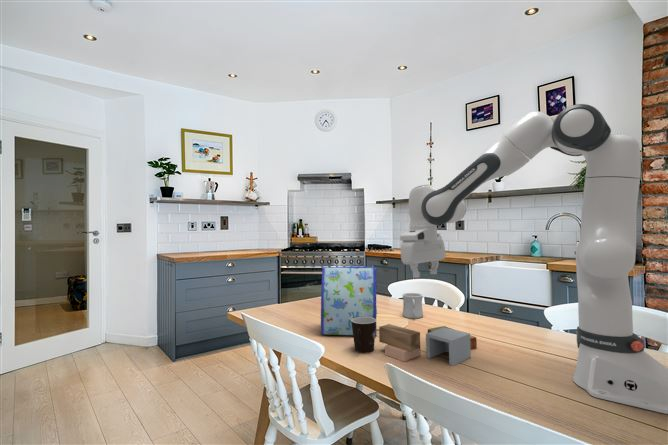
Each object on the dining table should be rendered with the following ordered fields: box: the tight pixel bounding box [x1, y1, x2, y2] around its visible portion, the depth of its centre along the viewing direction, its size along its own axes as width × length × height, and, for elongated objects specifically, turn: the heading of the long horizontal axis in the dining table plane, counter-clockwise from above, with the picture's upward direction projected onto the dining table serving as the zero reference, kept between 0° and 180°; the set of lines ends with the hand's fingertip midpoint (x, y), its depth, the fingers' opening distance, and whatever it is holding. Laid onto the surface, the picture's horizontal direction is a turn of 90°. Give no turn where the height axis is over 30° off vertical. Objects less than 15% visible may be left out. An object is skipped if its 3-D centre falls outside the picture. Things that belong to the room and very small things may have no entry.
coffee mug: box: [351, 317, 377, 354], centre depth 120 cm, size 12×9×10 cm
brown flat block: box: [427, 325, 478, 351], centre depth 126 cm, size 8×16×4 cm, turn 23°
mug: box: [402, 292, 424, 319], centre depth 162 cm, size 12×9×10 cm
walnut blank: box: [378, 323, 421, 352], centre depth 117 cm, size 5×13×5 cm, turn 39°
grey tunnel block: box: [425, 327, 472, 367], centre depth 113 cm, size 9×10×8 cm
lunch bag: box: [320, 265, 378, 337], centre depth 143 cm, size 22×17×26 cm
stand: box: [384, 344, 421, 362], centre depth 115 cm, size 8×8×3 cm
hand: (425, 275), depth 119 cm, fingers open, 8 cm apart
